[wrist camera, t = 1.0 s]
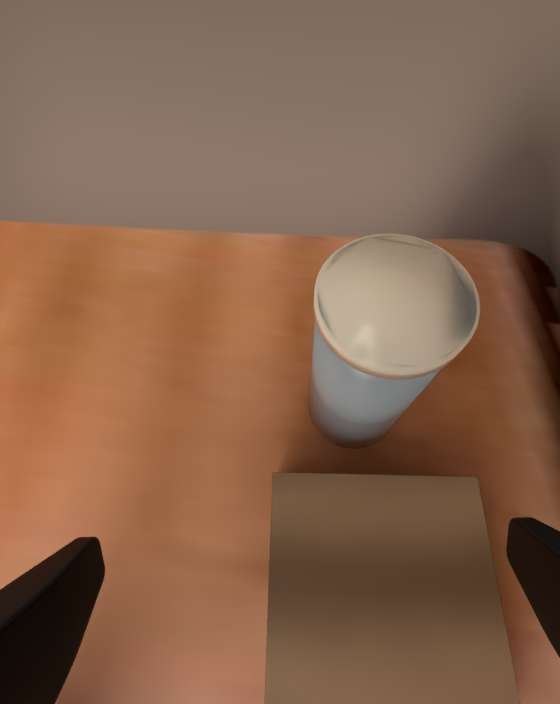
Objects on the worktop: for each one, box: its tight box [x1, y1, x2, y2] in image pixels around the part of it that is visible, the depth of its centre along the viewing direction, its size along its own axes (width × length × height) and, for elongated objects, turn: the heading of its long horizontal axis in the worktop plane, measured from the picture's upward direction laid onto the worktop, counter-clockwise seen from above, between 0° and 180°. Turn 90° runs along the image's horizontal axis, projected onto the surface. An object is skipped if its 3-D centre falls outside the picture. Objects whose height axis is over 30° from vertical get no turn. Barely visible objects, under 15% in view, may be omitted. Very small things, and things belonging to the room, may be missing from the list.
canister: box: [309, 234, 480, 448], centre depth 18 cm, size 5×5×12 cm
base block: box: [265, 472, 520, 704], centre depth 18 cm, size 10×10×3 cm
